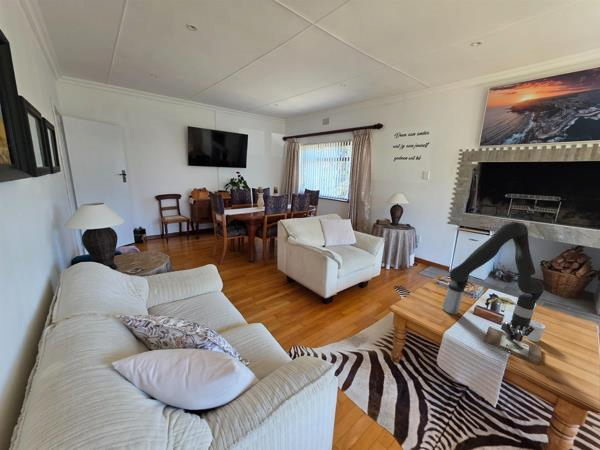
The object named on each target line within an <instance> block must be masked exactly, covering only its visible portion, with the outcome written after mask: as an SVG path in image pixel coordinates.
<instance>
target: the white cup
mask: <svg viewBox="0 0 600 450" xmlns="http://www.w3.org/2000/svg"><path fill="white" fill-rule="evenodd" d="M529 326H532V327H533V328H534V330H533V331H532V332H531V333H530V334H529V335H528V336H524V337H525V338H526V339H527V340H528V341H529V340H530V341H531V342H534V343H535V342H536V343H538V342H540V340H541V338H542V336H543V334H544V331H545V330H546V325H544V324H543V323H541V322H539V321H538V320H534V319H531V321H530V324H529ZM526 329H527V328H526ZM526 329H525V330H526Z"/></svg>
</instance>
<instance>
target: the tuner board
mask: <svg viewBox="0 0 600 450" xmlns="http://www.w3.org/2000/svg"><path fill="white" fill-rule="evenodd" d="M506 336H507V333H506V332H504V331H503V330H499V329H497V328H495V327H491V326H488V327H487V331H486V333H485V337H484V339H483V342H484V341H485V343H487V342H488V343H487V344H489V343H490V344H489V345H491V344H492V346H494V345H495V346H494V347H496V346H497V347H496V348H498V347H499V348H498V349H500V348H502V349H501V350H503V349H505V350H507V351H510V352H511V353H510V352H509V353H510V354H512V355H514V356H515V357H519V358H521V359H524V360H526V361H528V362H530V363H533V364H535V365H538V366H541V363H542V346H540V345H537V344H534V343H532V342H530V341H527V340H524V339H522V341H521V342H519V341H516V340H515V339H514V340H513V341H514V342H516V343H517V344H518V345H519V346H521V347H522V348H523V349H521V348H519V347H518V346H517V345H516V344H514V343H513V342H512V341H511V340H507V339H506ZM505 350H504V351H505ZM507 351H506V352H507Z"/></svg>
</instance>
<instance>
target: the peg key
mask: <svg viewBox="0 0 600 450" xmlns="http://www.w3.org/2000/svg"><path fill="white" fill-rule="evenodd" d="M500 329H501V331H502V332H505V333H507V336H506V339H507V340H511V339H510V338H509V335H510V333H509V332H508V331H507V330H506V327H505V323H504V322H503V323H501V328H500ZM510 329H511V327H510ZM520 337H521V334H520V333H519V331H517V332H516V333H515V336H514V339H515V340H516V341H519V340H520ZM511 341H512V342H513V343H514V344H516V345H517V346H518V347H519V348H521V349H523V348H522V347H521V346H519V345H518V344H517V343H516V342H514V341H513V340H511Z"/></svg>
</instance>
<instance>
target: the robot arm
mask: <svg viewBox="0 0 600 450" xmlns="http://www.w3.org/2000/svg"><path fill="white" fill-rule="evenodd" d="M528 230H529V229H528V227H527V226H526V224H525V223H522V222H519V221H507V222H505V223H504V224H502V226H501V227H499V229H498V230H497V231H496V232H495V233H494V234H493V235H491V237H490V238H488V239H487V240H486V241H485V242H484V243H482V244H481V245H479V246H478V247H477V248H476V249H475V250H474V251H473V252H472V253H471V254H470V255H468V256H467V258H466V259H465V260H464V261H463V262H462V263H460V264H459V265H457V266H456V267H453V268H452V269H451V270H450V272H449V277H450V279H451V280H450V282H449V283H448V286H447V291H446V296H445V298H444V301H443V305H442V310H443V311H444V312H446V313H448V314H450V315H456V316H457V315H458V314H459V313H460V308H461V305H462V302H463V301H462V300H463V296H464V292H465V289H466V287H467V284H468V281H469V278H470V274H471V273H472V272H474V271H475V270H477V269H479V268H480V267H482V266H484V265H485V264H487V263H488V262H490V261H491V260H493V259H494V258H495V257H496V256H497V254H498V253H499V252H500V250H501V248H502V247H503V246H504V245H505V244H506V243H507V242H509V241H511V240H512V241H513V242H514V247H515V253H514V261H515V265H516V268H517V287H518V289H519V291H521V293H523V294H520V295H518V298H517V300H516V301H517V302H516V304H515V306H514V309H513V313H512V316H511V320H510V321H508V322H507V321H504V322H503V323H505V327H506V330H507V331H508V332H509V333H510V335H509V338H510V339H511V340H514V336H515V333H516V332H518V333H520V334H521V337H520V340H519V342H521V341H522V340H523V337H525V336H528V335H529V334H530V333H531V332H532V331H533V330H534V328H533V327H532V326H529V324H530V321H531V320H532V318H533V314H534V309H535V306H536V303H537V301H538V300H539V299H540V297H541V296H542V295H543V293H544V291H545V286H544V284H543V283H542V282H541V280H538V279H531V277H532V276H534V275H535V274H536V269H535V265H534V261H533V259H532V254H531V250H530V243H529V231H528ZM510 327H511V329H510ZM526 328H527V329H526ZM525 329H526V330H525Z"/></svg>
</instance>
